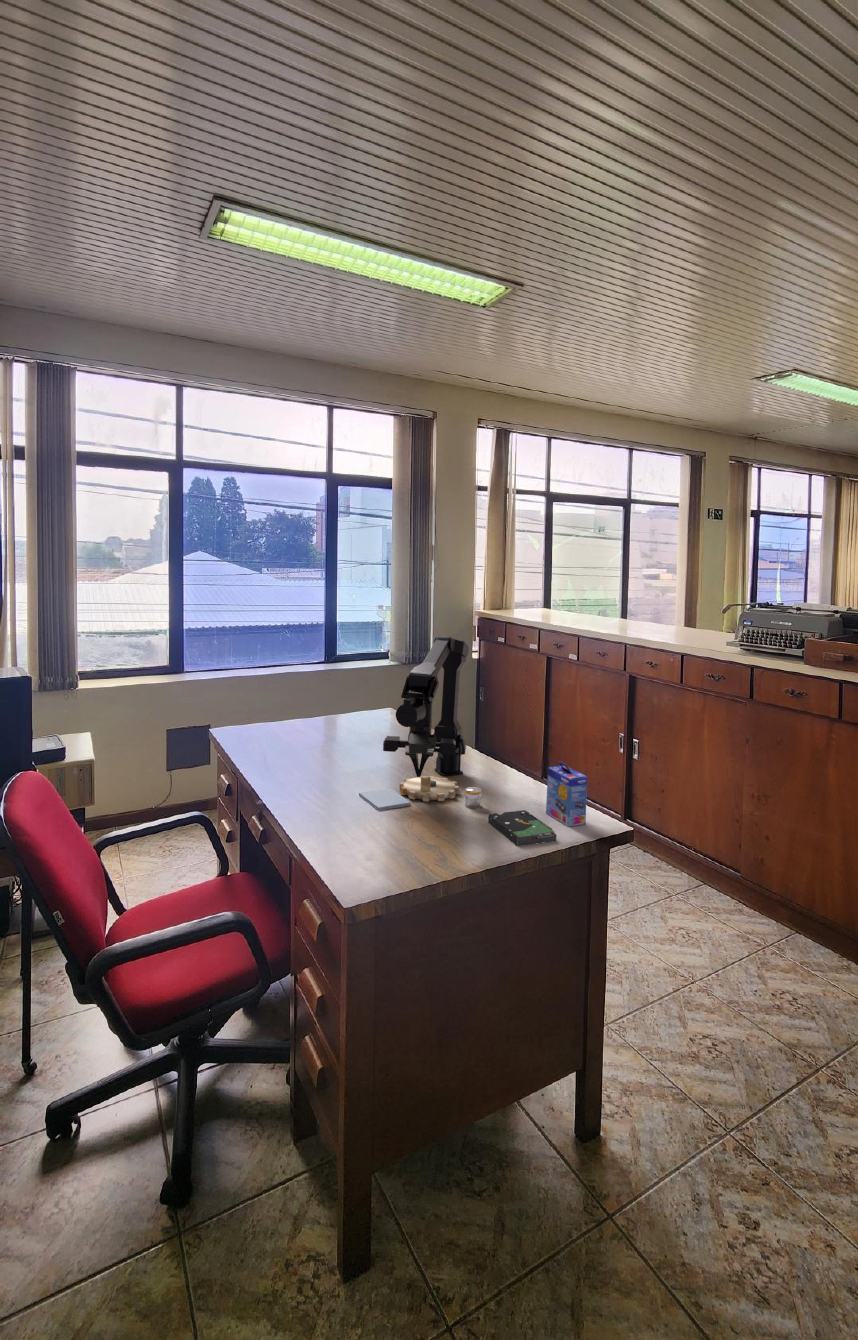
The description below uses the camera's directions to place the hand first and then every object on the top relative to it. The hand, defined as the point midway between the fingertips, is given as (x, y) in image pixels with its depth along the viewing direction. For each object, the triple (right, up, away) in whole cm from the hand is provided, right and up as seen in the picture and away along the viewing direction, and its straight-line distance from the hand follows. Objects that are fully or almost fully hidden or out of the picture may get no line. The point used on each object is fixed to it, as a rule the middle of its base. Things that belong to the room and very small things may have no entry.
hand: (418, 776), depth 177 cm
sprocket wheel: (+3, -5, +6) cm, 8 cm away
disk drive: (+24, -10, -19) cm, 33 cm away
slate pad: (-9, -6, -2) cm, 11 cm away
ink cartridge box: (+36, -9, -10) cm, 39 cm away
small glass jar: (+14, -7, -4) cm, 16 cm away
